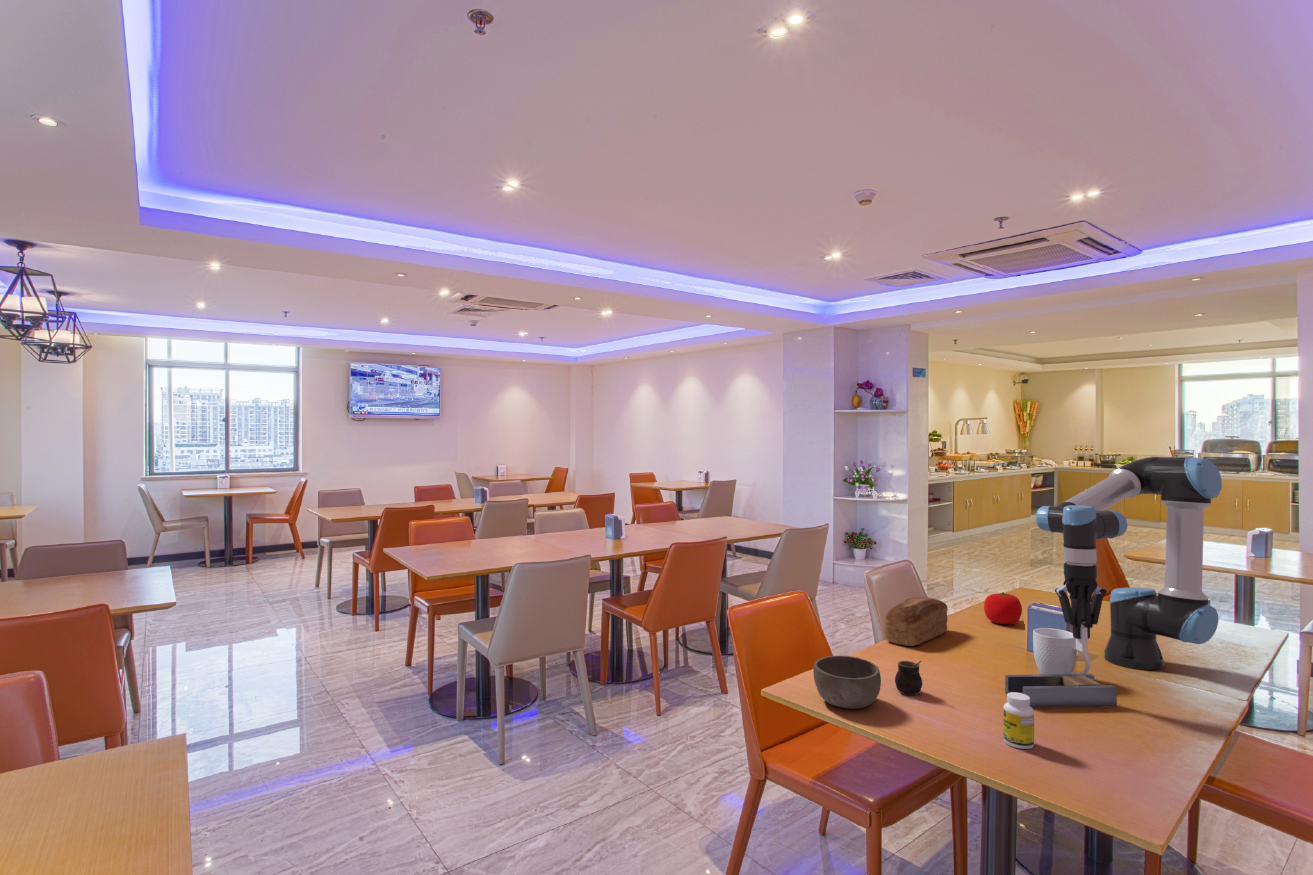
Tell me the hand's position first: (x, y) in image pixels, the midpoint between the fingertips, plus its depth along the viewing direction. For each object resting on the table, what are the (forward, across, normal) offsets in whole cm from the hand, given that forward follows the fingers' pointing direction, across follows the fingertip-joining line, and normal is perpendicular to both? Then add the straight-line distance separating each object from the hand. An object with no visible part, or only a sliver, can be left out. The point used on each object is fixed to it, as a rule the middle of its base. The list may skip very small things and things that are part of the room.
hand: (1081, 650), depth 177 cm
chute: (+13, +6, 0) cm, 15 cm away
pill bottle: (+13, +32, +25) cm, 43 cm away
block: (+13, 0, 0) cm, 13 cm away
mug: (+14, -3, -16) cm, 21 cm away
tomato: (+14, -19, -74) cm, 78 cm away
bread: (+14, +21, -57) cm, 63 cm away
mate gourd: (+13, +45, -6) cm, 47 cm away
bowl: (+13, +64, 0) cm, 65 cm away
